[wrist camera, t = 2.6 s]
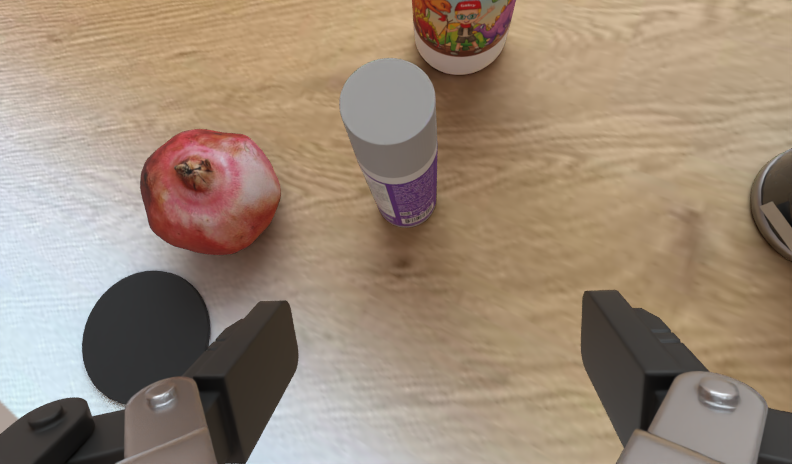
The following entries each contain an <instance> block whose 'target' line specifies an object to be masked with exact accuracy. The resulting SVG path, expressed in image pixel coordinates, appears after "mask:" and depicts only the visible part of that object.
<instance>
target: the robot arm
mask: <svg viewBox="0 0 792 464" xmlns="http://www.w3.org/2000/svg"><path fill="white" fill-rule="evenodd" d="M751 208H752V213H753V217H754V219H755V222H756V224H757V226H758V228H759V230H760V232H761V234H762V235H763V236H764V238H765V239H766V240H767V242H768V243H769V244H770V245H771V246H772V247H773V248H774V249H775V250H776V251H777V252H778V253H780V254H781V255H782V256H784V257H785V258H786V259H788V260H790V261H791V262H792V148H791V149H789V150H787V151H785V152H783V153H781V154H780V155H778V156H776V157H774V158H773V159H771V160H770V161H769V162H767V163H766V164H765V165H764V166H763V168H762V169H761V170H760V171H759V173H758V175H757V176H756V178H755V180H754V183H753V187H752V191H751ZM581 354H582V360H583V364H584V367H585V370H586V372H587V374H588V376H589V378H590V380H591V382H592V384H593V386H594V388H595V390H596V392H597V394H598V396H599V398H600V400H601V402H602V404H603V406H604V408H605V410H606V412H607V414H608V416H609V418H610V421H611V423H612V425H613V427H614V429H615V431H616V433H617V435H618V437H619V439H620V441H621V443H622V445H623V447H624V450H623V451H622V453H621V455H620V457H619V459H618V460H617V462H616V464H792V413H790V412H785V411H780V410H775V409H771V408H768V405H767V403H766V401H765V399H764V398H763V397H762V396H761V395H760V394H759V393H758V392H757V391H756V390H754V389H753V388H752V387H750V386H748V385H747V384H745V383H743V382H741V381H739V380H736V379H734V378H731V377H728V376H725V375H721V374H718V373H712V372H709V371H708V370H707V368H706V367H705V366H704V365H703V364H702V363H701V362H700V361H699V360H698V359H697V358H696V357H695V356H694V354H693V353H692V352H691V351H690V350H689V349H688V348H687V347H686V346H685V345H684V344H683V343H681V342H680V339H679V338H678V337H677V336H676V335H675V334H674V333H671V330H670V329H669V328H668V327H667V325H666V324H665V323H664V322H663V321H662V320H661V319H660V318H659V317H657V316H655V315H653V314H651V313H649V312H647V311H646V310H644V309H642V308H632V307H631V306H630V305H629V303H628V302H627V301H626V300H625V299H624V298H623V296H622V295H621V294H620V293H619V292H618V291H617V290H598V291H585V292H584V294H583V300H582V326H581ZM297 365H298V346H297V341H296V335H295V330H294V324H293V318H292V313H291V308H290V305H289V303H288V302H287V301H260V302H259V303H258V304H257V305H256V306H255V307H254V308H253V309H252V310H251V311H250V313H249V314H248V315H247V316H246V317H245V318H244V319H241V320H239V321H237V322H236V323H234V324H232V325H231V326H229V327H227V328H226V329H225V330H224V331H223V332H222V333H221V334H220V335H219V336H218V337H217V339H216V342H213V343H212V344H211V345H210V346H209V347H208V348H207V351H204V352H203V354H202V355H201V356H200V357H199V358H198V359H197V360H196V361H195V362H194V363H193V364H192V365H191V366H190V367H189V369H188V370H187V371H186V372H185V373H184V374H183V375H182V376H181V377H171V378H167V379H163V380H160V381H157V382H155V383H153V384H150V385H148V386H147V387H145V388H143V389H142V390H140V391H139V392H137V393H136V394H135V395H134V396H133V397H132V398H131V399H130V400H129V401H128V403H127V404H126V406H125V410H120V411H115V412H111V413H106V414H101V415H97V416H92V415H91V412H90V409H89V407H88V404H87V401H86V400H84V399H82V398H65V399H61V400H57V401H54V402H51V403H48V404H45V405H43V406H41V407H39V408H36V409H34V410H33V411H31V412H29V413H27V414H26V415H24V416H23V417H21V418H20V419H18V420H17V421H16V422H15V423H13V424H12V425H11V426H10V427H8V428H7V429H6V430H5V431H4V432H2V433H1V434H0V464H246V462H247V460H248V458H249V457H250V455H251V453H252V451H253V449H254V447H255V445H256V444H257V442H258V440H259V438H260V436H261V434H262V432H263V431H264V429H265V427H266V425H267V423H268V421H269V420H270V418H271V416H272V414H273V412H274V410H275V408H276V407H277V405H278V403H279V401H280V399H281V397H282V396H283V394H284V392H285V390H286V388H287V386H288V384H289V383H290V381H291V379H292V377H293V375H294V373H295V371H296V369H297Z"/></svg>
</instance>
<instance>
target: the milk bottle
mask: <svg viewBox="0 0 792 464" xmlns="http://www.w3.org/2000/svg"><path fill="white" fill-rule="evenodd" d="M515 2H516V0H412V8H413V23H414V34H415V42H416V46H417V49H418V51H419V53H420V54H421V56H422V57H423V58H424V60H425V61H426V62H428V63H429V64H430V65H431V66H432V67H434V68H436V69H437V70H439V71H442V72H444V73H447V74H454V75H465V74H470V73H474V72H476V71H479V70H481V69H483V68H485V67H486V66H488V65H489V64H490V63H492V62H493V61H494V60H495V59H496V58H497V57H498V55H499V54H500V53H501V51H502V49H503V47H504V44H505V41H506V38H507V34H508V30H509V26H510V22H511V18H512V14H513V10H514V6H515Z"/></svg>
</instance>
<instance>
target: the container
mask: <svg viewBox="0 0 792 464" xmlns="http://www.w3.org/2000/svg"><path fill="white" fill-rule="evenodd" d="M339 105H340V113H341V117H342V120H343V122H344V125H345V128H346V131H347V133H348V136H349V139H350V141H351V144H352V147H353V150H354V152H355V155H356V158H357V161H358V163H359V165H360V168H361V170H362V172H363V175H364V177H365V179H366V181H367V184H368V186H369V188H370V190H371V193H372V195H373V197H374V199H375V202H376V204H377V206H378V209H379V211H380V212H381V214H382V216H383V217H384V218H385V219H386V220H387V221H388V222H390V223H391V224H393V225H395V226H398V227H404V228H408V227H414V226H417V225H419V224H421V223H423V222H424V221H426V220H427V219H428V218H429V217H430V215H431V214H432V212H433V210H434V208H435V204H436V190H437V148H438V143H437V124H436V99H435V91H434V88H433V85H432V82H431V81H430V79H429V77H428V76H427V75H426V74H425V72H424V71H423V70H421V69H420V68H419V67H417V66H416V65H414V64H412V63H410V62H408V61H405V60H401V59H396V58H384V59H378V60H374V61H371V62H369V63H367V64H365V65H363V66H361V67H360V68H359V69H357V70H356V71H355V72H354V73H353V74H352V75H351V76H350V77H349V78H348V80H347V81H346V83H345V85H344V87H343V89H342V92H341V95H340V104H339Z"/></svg>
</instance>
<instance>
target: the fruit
mask: <svg viewBox="0 0 792 464" xmlns="http://www.w3.org/2000/svg"><path fill="white" fill-rule="evenodd" d="M140 189H141V195H142V199H143V202H144V206H145V210H146V213H147V217H148V222H149V226H150V228H151V229H152V231H153V232H154V233H155V234H156V235H157V236H159V237H160V238H162V239H163V240H164V241H166V242H167V243H169V244H171V245H173V246H175V247H179V248H183V249H187V250H190V251H193V252H197V253H203V254H210V255H227V254H233V253H236V252H238V251H240V250H242V249H244V248H246V247H248V246H250V245H251V244H252V242H254V241H255V240H256V238H257V237H258V236H259V235H260V234H261V233H262V232H263V231H264V230H265V229H266V228H267V227H268V226H269V224H270V223H271V221H272V219H273V217H274V214H275V212H276V209H277V206H278V203H279V200H280V197H281V190H280V184H279V181H278V178H277V176H276V174H275V172H274V170H273V167H272V165H271V163H270V161H269V159H268V158H267V157H266V155H265V154H264V153H263V151H262V150H261V149H260V148H259V147H258V146H257V144H256V143H255V142H254V141H253V140H251V139H250V138H249V137H248V136H245V135H243V134H234V133H222V132H217V131H212V130H207V129H194V130H188V131H184V132H181V133H179V134H177V135H175V136H174V137H172V138H171V139H170V140H169V141H167V142H166V143H165V144H164V145H162V146H161V147H160V148H158V149H157V150H156V151H155V152H154V153H153V154H152V155H151V156H150V157H149V158H148V159H147V160H146V162H145V164H144V167H143V170H142V172H141V181H140Z"/></svg>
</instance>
